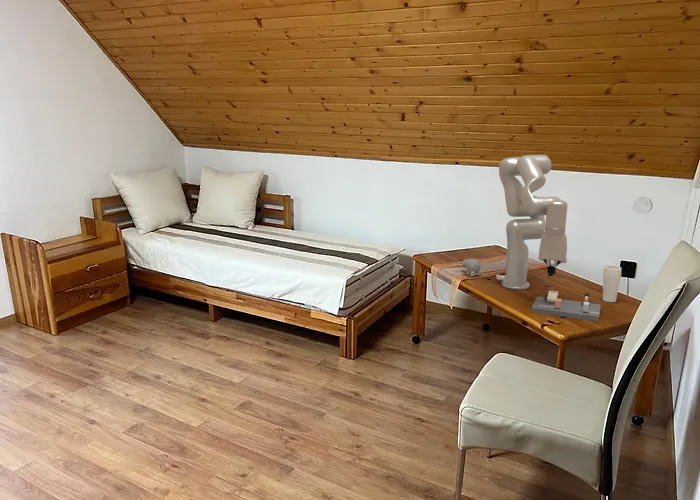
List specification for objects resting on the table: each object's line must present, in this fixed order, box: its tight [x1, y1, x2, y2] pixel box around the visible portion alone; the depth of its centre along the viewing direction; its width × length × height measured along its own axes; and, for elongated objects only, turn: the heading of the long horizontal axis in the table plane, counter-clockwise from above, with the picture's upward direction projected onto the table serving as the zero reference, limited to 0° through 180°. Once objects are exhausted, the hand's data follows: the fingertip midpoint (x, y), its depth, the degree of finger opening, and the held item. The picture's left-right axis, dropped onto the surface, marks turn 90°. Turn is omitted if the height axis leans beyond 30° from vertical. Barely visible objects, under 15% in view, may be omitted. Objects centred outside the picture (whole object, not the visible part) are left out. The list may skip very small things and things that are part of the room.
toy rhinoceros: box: [461, 257, 482, 276], centre depth 271 cm, size 7×12×8 cm, turn 22°
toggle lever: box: [584, 292, 590, 302], centre depth 221 cm, size 2×2×5 cm
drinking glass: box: [602, 264, 622, 303], centre depth 230 cm, size 7×7×15 cm
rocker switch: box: [547, 290, 559, 302], centre depth 226 cm, size 4×7×1 cm, turn 154°
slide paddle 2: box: [583, 301, 589, 312], centre depth 213 cm, size 2×3×3 cm, turn 154°
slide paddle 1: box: [555, 297, 562, 308], centre depth 218 cm, size 2×3×3 cm, turn 154°
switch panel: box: [531, 292, 602, 322], centre depth 220 cm, size 25×15×5 cm, turn 64°
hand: (550, 275), depth 219 cm, fingers closed
